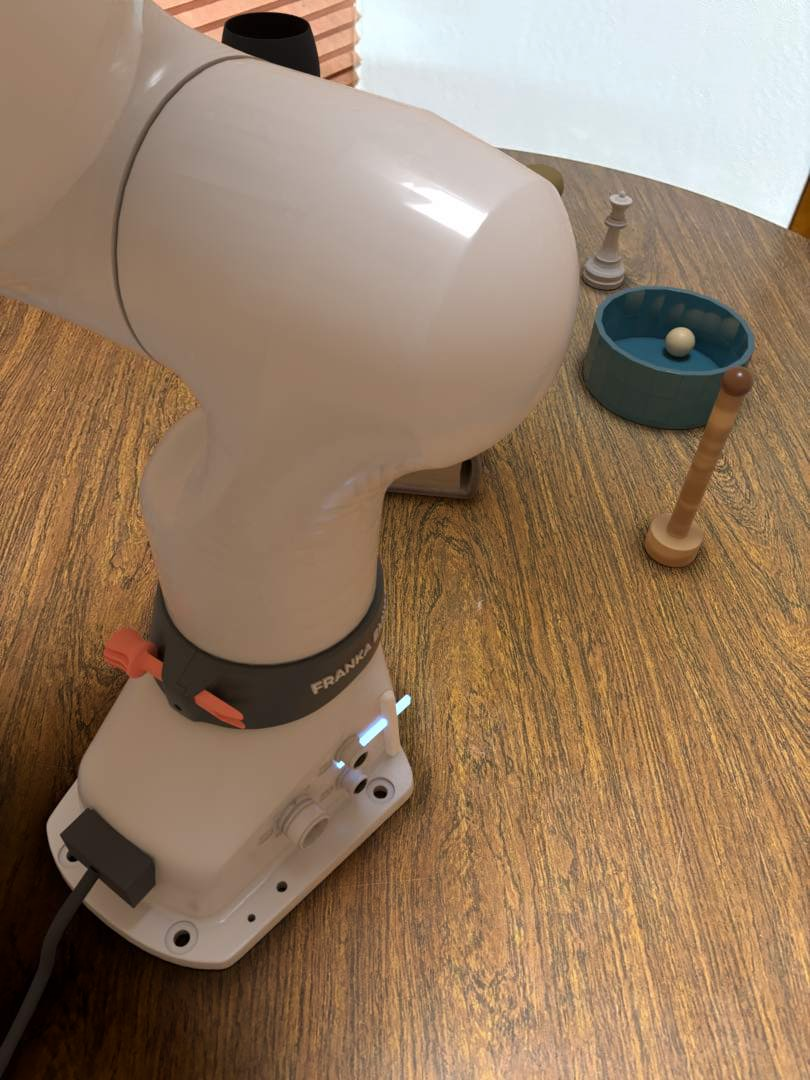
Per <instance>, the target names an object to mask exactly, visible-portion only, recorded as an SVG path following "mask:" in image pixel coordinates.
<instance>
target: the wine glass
mask: <svg viewBox="0 0 810 1080" xmlns="http://www.w3.org/2000/svg"><path fill="white" fill-rule="evenodd" d="M220 42H221V43H223V44H225V45H227V46H229V47H231V48H234V49H236V50H239V51H241V52H244V53H246V54H248V55H251V56H254V57H257V58H260V59H263V60H266V61H268V62H270V63H273V64H276V65H280V66H283V67H286V68H290V69H293V70H296V71H300V72H303V73H306V74H310V75H313V76H316V77H320V78H321V65H320V58H319V51H318V47H317V43H316V40H315V36H314V33H313V29H312V26H311V24H310V22H309V21H308V20H307V19H305V18H303V17H301V16H298V15H295V14H291V13H286V12H278V11H277V12H276V11H255V12H254V11H253V12H247V13H241V14H237V15H234V16H232V17H230V18H228V19H227V20H226V21H225V22H224V24H223V28H222V34H221V41H220Z"/></svg>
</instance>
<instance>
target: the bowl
mask: <svg viewBox="0 0 810 1080" xmlns="http://www.w3.org/2000/svg"><path fill="white" fill-rule="evenodd" d="M678 327H684V328H687V329H689V330H690V331H691V332H692V333H693V335H694V337H695V345H694V348H693V349H692V351H691V352H690V353H689V354H687V355H685V356H682V357H676V356H673V355H671V354H670V353H669V352H668V351H667V350H666V347H665V339H666V336H667V335H668V333H669V332H670V331H671V330H673V329H675V328H678ZM755 346H756V345H755V334H754V333H753V331H752V329H751V327H750V325H749V323H748V322H747V321H746V320H745V319H744V318H743V317H742V316H741V315H740V314H739V313H738V312H736V311H735V310H734V309H733V308H732V307H730V306H728V305H726V304H724V303H722V302H721V301H719V300H718V299H715V298H713V297H712V296H708V295H705V294H702V293H699V292H697V291H693V290H691V289H684V288H678V287H674V286H669V285H668V286H667V285H640V286H636V287H629V288H625V289H621V290H619V291H617V292H614V293H613V294H610V295H609V296H607V297H606V298H605V299H604V300H603V301H602V302H601V303H600V304H599V305H598V306H597V308H596V312H595V316H594V321H593V324H592V329H591V333H590V337H589V341H588V346H587V349H586V354H585V358H584V364H583V367H582V368H583V369H582V376H583V381H584V384H585V386H586V388H587V390H588V391H589V392H590V395H592V396H593V397H594V399H595V400H596V401H597V402H598V403H600V404H601V405H602V406H603V407H605V408H606V409H608V410H609V411H610V412H612V413H614V414H616V415H618V416H619V417H621V418H623V419H625V420H628V421H630V422H634V423H636V424H639V425H643V426H646V427H651V428H657V429H663V430H689V429H695V428H701V427H704V426H706V425H707V422H708V420H709V417H710V415H711V412H712V409H713V407H714V404H715V402H716V399H717V397H718V394H719V391H720V389H721V384H720V382H721V377H722V375H723V374H724V372H725V371H727V370H728V369H729V368H732V367H735V366H741V367H744V368H746V369H748V367H749V364H750V362H751V360H752V357H753V355H754V353H755V348H756V347H755Z"/></svg>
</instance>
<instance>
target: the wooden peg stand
mask: <svg viewBox="0 0 810 1080" xmlns="http://www.w3.org/2000/svg"><path fill="white" fill-rule="evenodd" d="M754 381H755V380H754V376H753V373H752V372H751V371H750V370H749V369H748V368H747V369H746V368H744V367H741V366H735V367H732V368H729V369H728V370H727V371H725V372H724V374H723V375H722V377H721V382H720V384H721V389H720V391H719V394H718V397H717V399H716V402H715V404H714V407H713V409H712V412H711V415H710V417H709V420H708V422H707V425H705V427H704V430H703V433H702V436H701V438H700V440H699V443H698V446H697V447H696V448H697V449H696V451H695V454H694V456H693V458H692V461H691V464H690V465H689V469H688V471H687V473H686V477H685V479H684V482H683V484H682V487H681V490H680V493H679V495H678V497H677V500H676V503H675V505H674V508H673V511H672V512H664V513H660V514H658V515H656V516H655V517H653V519H652V520H651V521H650V524H649V525H650V526H649V528H648V531H647V533H646V536H645V540H644V548H645V551H646V553H647V555H649V557H650V558H651V559H652V560H653V561H654V562H657V563H659V564H661V565H663V566H665V567H670V568H682V567H686V566H688V565H691V564H692V562H694V560H696V557H697V554H698V552H699V550H700V548H701V546H702V543H703V541H704V532H703V530H702V528H701V526H700V525H699V524H698V523H697V522H696V521H695V520H694V519H695V518H696V515H697V513H698V510H699V507H700V505H701V503H702V500H703V498H704V496H705V493H706V491H707V489H708V486H709V484H710V481H711V479H712V476H713V474H714V472H715V469H716V467H717V464H718V463H719V460H720V458H721V455H722V452H723V449H724V448H725V445H726V443H727V440H728V438H729V436H730V433H731V431H732V428H733V426H734V424H735V422H736V419H737V417H738V414H739V412H740V409H741V407H742V404H743V402H744V400H745V397H746V395H748V394H749V393H750V392H751V390H752V389H753V387H754Z"/></svg>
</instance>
